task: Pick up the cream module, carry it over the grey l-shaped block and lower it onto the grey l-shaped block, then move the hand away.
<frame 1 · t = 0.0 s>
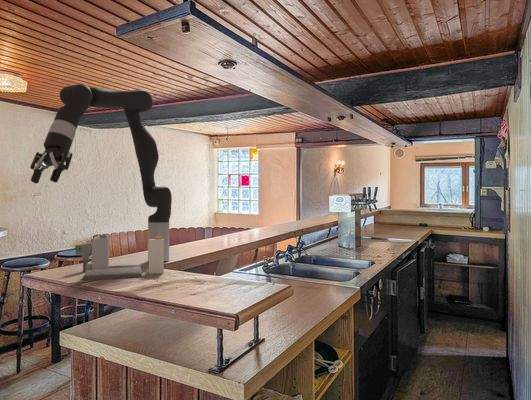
hand: (43, 182, 120), 31 cm above the counter, tool tilted 20°, fingers open, 8 cm apart
grey l-shaped block: (114, 275, 132), on the counter
cream module: (156, 272, 139), on the counter
mechanical component: (85, 271, 142), on the counter
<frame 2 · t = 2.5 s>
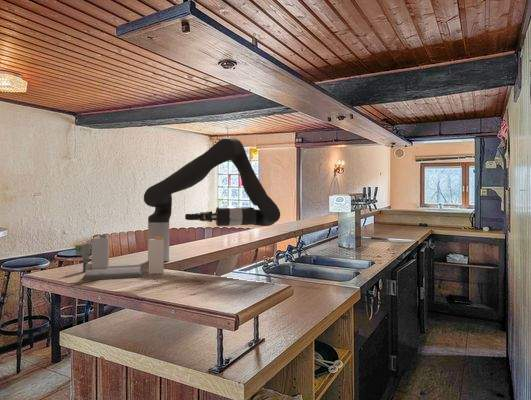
hand: (186, 216, 143), 20 cm above the counter, tool horizontal, fingers open, 8 cm apart
nothing on the counter moved.
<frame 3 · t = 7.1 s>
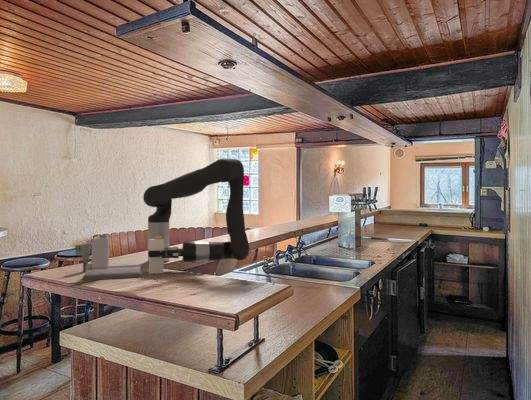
hand: (148, 253, 138), 7 cm above the counter, tool horizontal, fingers closed on cream module, 4 cm apart
cream module: (156, 272, 139), on the counter, touching gripper
everything else where it was.
when the fingers open (9 cm above the counter, at t = 11.6 s): cream module drops 1 cm, resting on grey l-shaped block.
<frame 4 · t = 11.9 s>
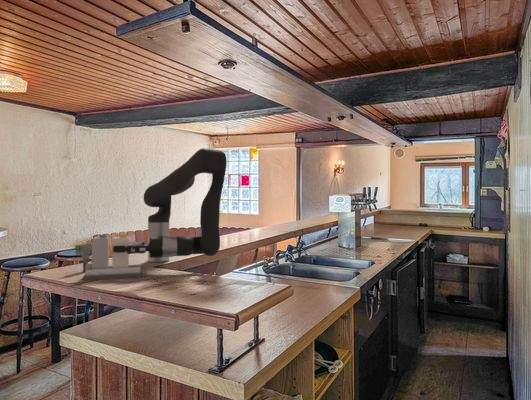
hand: (114, 248, 132), 10 cm above the counter, tool horizontal, fingers open, 7 cm apart
cream module: (120, 272, 133), point 1 cm above the counter, touching grey l-shaped block
everything else where it was.
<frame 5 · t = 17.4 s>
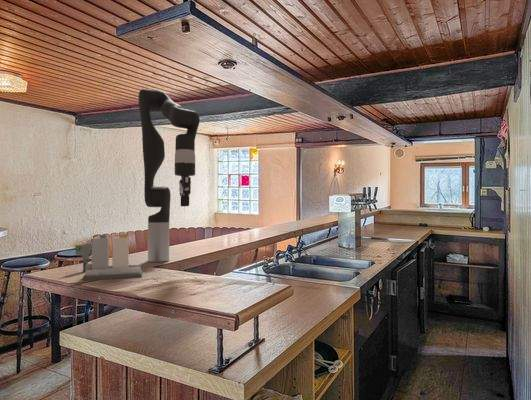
hand: (184, 206, 142), 24 cm above the counter, tool pointing down, fingers open, 8 cm apart
nothing on the counter moved.
at the end: cream module 0.5 cm from the target spot on the grey l-shaped block, point 1.2 cm above the grey l-shaped block's base; cream module tilted 0°; the gripper is holding nothing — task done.
